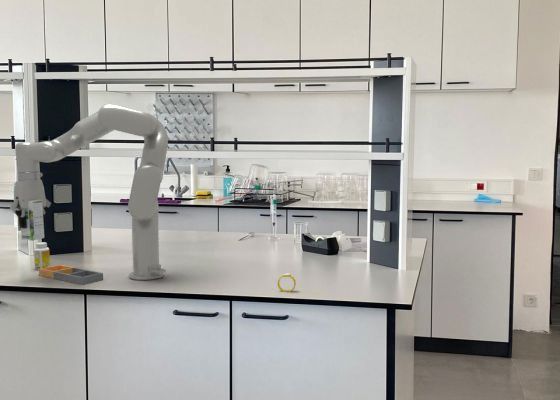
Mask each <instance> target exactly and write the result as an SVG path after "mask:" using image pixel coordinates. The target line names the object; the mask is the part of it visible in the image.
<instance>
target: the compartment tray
mask: <svg viewBox="0 0 560 400" xmlns="http://www.w3.org/2000/svg"><path fill="white" fill-rule="evenodd" d="M38 275H39V276H40V277H45V278H50V279H54V280H58V281H59V280H60V281H63V282H68V283H71V284H76V285H86V284H87V285H88V284H91V283H96V282H99V281H103V280H104V273H103V272H100V271H94V270H90V269H85V268H79V267H75V266H70V265H69V266H68V265H63V264H57V265H52V266H51V265H50V267H45V268H40V269H39V270H38Z"/></svg>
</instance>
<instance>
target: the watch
mask: <svg viewBox="0 0 560 400" xmlns="http://www.w3.org/2000/svg"><path fill="white" fill-rule="evenodd" d="M283 278H291V279H292V281H293V288H291V289H283V288H282V287H281V285H280V282H281V281H280V280H281V279H283ZM296 283H297V282H296V279H295V278H294V276H293V275H291V273H288V272H287V273H286V272H285V273H282V275H281V276H280V277H279V278H278V280H277V287H278V290H280V291H281V292H284V293H286V292H287V293H288V292H290V293H291V292H292V291H294V290H295V288H296V285H297V284H296Z"/></svg>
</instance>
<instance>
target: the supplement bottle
mask: <svg viewBox="0 0 560 400" xmlns="http://www.w3.org/2000/svg"><path fill="white" fill-rule="evenodd" d="M33 253H34V269H35V270H36V271H39V269H40V268H45V267H50V266H51V259H50V258H51V257H50V248H49V247H48V243H47V242H45V241H44V242H43V241H42V242H36V243H35V248H34V250H33Z"/></svg>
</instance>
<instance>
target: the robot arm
mask: <svg viewBox="0 0 560 400" xmlns="http://www.w3.org/2000/svg"><path fill="white" fill-rule="evenodd" d="M114 131H116V132H120V133H121V132H122V133H126V134H128V135H129V134H130V135H133V136H137V137H142V138H143V140H144V145H143V148H142V155H141V160H140V163H139V166H138V167H137V168H136V169H135V172H134V173H133V179H132V184H131V189H130V192H129V197H128V198H129V199H128V203H127V207H128V208H127V210H128V213H129V215H130V216H131V240H132V241H131V243H132V244H131V245H132V272H129V273H128V278H129V279H131V280H137V281H148V280H157V279H161V278H162V277H164V275H165V274H164V273H166V269H165V268H162V264H161V263H160V250H159V249H160V245H159V243H160V242H159V239H160V237H159V235H160V233H159V231H160V230H159V208H160V207H159V201H158V196H159V193H160V188H161V183H162V181H163V179H164V169H165V163H166V158H167V153H168V146H169V145H168V144H169V138H168V137H169V136H168V132H167V129H166V128H165V125H164V124H163V123H162V122H161V121H160V120H159V119H158V118H157V117H156V116H154V115H153V114H151V113H148V112H145V111H139V110H137V109H131V108H127V107H125V106H120V105H117V104H115V103H107V104H104V105H102V106H101V107H100V108H99V109H98V111H95V112H94V113H92V114H90V115H88V116H87V117H85V118H83V119H81V120H79V121H77V122H76V123H75V124H74V126H73V127H72V128H70V129H69V130H68V131H67V132H65V133H62V135H60V136H58V137H56V138H54V139H52V140H46V141H45V140H44V141H39V142H34V141H26V142H24V141H23V142H18V143H16V144H15V163H16V173H17V174H16V175H17V181H15V182H14V188H13V190H14V191H13V203H12V204H11V205H10V207H9V210H10V211H11V212H13V214H15V216H17V218H18V225H19V227H20V229H21V228H27V224H26V217H24V216H25V213H26V209H28V201H29V200H35V199H40V200H42V207H43V224H44V225H45V221H46V220H45V215H46V212H47V211H48V210H49V207H51V205H52V202H50V200H48V199H47V197H46V193H45V187H44V184H43V180H42V179H41V177H43V175H44V174H43V172H41V171H40V162H41V163H52V162H58V161H61V160H62V159H64V158H66V157H68V156H70V155H71V154H72V153H74V152H76V151H79V150H80V149H82V148H83V147H86V146H88V145H89V144H92V143H93V142H95V141H97V140H99V139H100V138H102V137H104V136H106V135H108V134H110V133H111V132H114Z"/></svg>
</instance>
